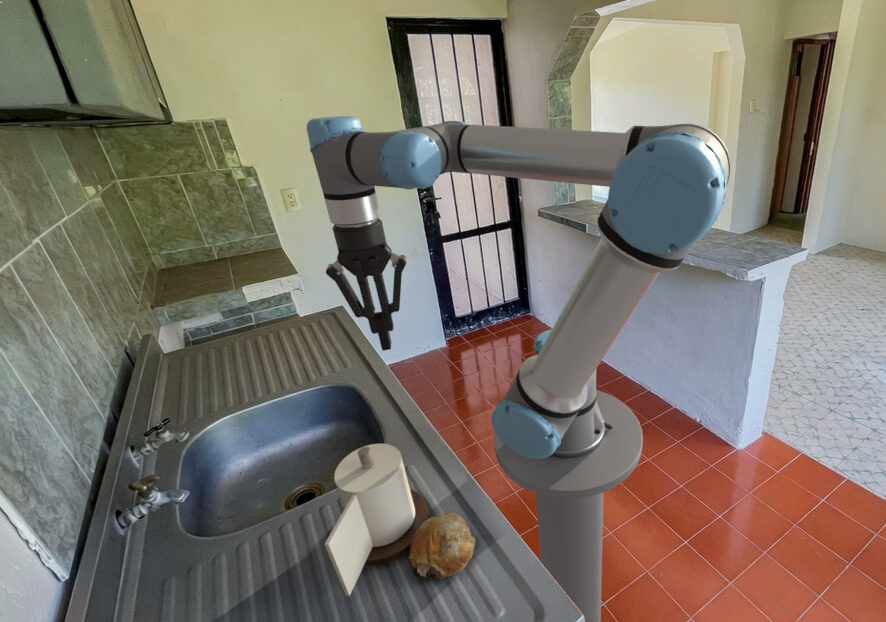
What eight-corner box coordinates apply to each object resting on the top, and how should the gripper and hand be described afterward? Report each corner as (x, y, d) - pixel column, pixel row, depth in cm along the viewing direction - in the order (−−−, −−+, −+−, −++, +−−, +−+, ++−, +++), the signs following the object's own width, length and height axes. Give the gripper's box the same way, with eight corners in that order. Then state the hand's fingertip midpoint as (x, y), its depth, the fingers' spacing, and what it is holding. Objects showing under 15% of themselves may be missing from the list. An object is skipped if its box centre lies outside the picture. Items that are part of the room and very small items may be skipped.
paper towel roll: (381, 489, 83) (365, 437, 77) (427, 504, 79) (414, 451, 74) (302, 578, 68) (276, 522, 63) (354, 601, 65) (332, 545, 59)
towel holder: (427, 485, 85) (410, 412, 77) (430, 551, 73) (411, 473, 65) (348, 504, 82) (322, 430, 74) (337, 577, 70) (305, 498, 62)
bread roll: (478, 578, 73) (493, 536, 71) (419, 599, 66) (433, 553, 64) (451, 535, 80) (464, 496, 78) (395, 549, 73) (407, 507, 71)
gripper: (399, 211, 77) (422, 330, 88) (316, 219, 74) (351, 342, 85) (398, 223, 71) (423, 350, 82) (308, 232, 68) (346, 363, 79)
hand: (386, 346), depth 84 cm, fingers closed
